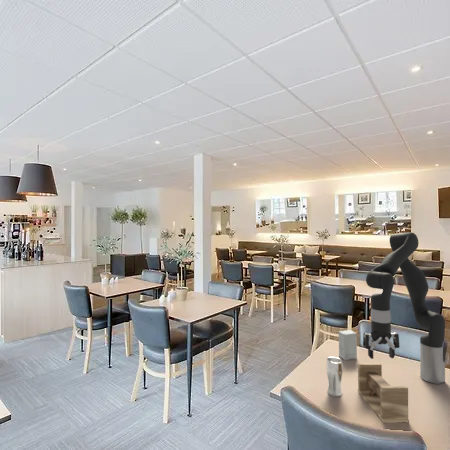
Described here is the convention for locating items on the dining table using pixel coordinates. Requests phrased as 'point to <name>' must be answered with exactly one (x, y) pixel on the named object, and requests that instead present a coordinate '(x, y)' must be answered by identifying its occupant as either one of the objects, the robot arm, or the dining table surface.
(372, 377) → the shelf board
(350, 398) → the dining table surface
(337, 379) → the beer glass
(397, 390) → the peg jig
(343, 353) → the skincare box
